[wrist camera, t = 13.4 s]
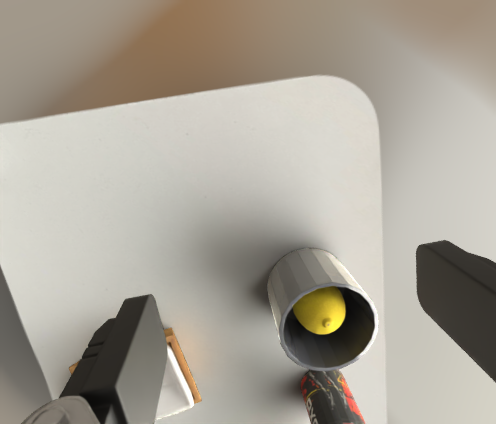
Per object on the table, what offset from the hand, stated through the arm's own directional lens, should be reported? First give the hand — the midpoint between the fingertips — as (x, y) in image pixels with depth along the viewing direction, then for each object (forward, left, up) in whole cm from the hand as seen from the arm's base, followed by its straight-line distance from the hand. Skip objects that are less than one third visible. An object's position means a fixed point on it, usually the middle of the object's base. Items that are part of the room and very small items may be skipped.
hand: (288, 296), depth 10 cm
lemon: (+16, +6, -28) cm, 33 cm away
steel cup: (+16, +6, -28) cm, 33 cm away
